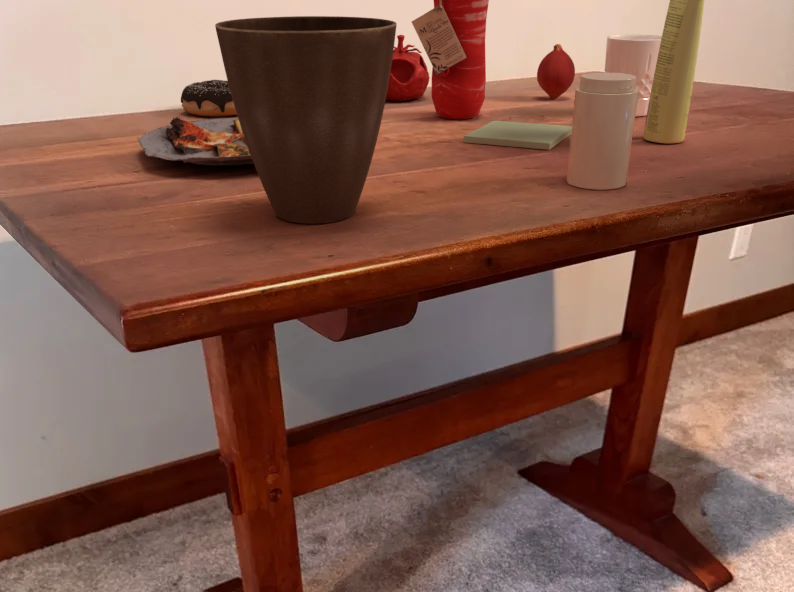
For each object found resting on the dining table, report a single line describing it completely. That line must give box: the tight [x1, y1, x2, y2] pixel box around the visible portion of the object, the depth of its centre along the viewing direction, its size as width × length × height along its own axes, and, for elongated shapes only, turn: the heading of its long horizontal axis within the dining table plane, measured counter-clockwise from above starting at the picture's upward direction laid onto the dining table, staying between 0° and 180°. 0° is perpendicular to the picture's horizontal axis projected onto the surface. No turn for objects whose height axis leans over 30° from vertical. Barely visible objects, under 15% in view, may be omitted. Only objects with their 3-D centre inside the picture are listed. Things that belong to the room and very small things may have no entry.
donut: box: [180, 79, 237, 118], centre depth 119 cm, size 11×12×4 cm
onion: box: [536, 43, 576, 100], centre depth 124 cm, size 6×6×8 cm
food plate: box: [136, 116, 254, 166], centre depth 95 cm, size 25×23×4 cm
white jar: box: [565, 71, 639, 191], centre depth 80 cm, size 6×6×10 cm
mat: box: [463, 120, 572, 151], centre depth 101 cm, size 11×11×1 cm
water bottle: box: [411, 0, 490, 120], centre depth 107 cm, size 12×8×25 cm, turn 135°
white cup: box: [604, 33, 662, 118], centre depth 113 cm, size 8×8×10 cm
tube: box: [642, 0, 705, 144], centre depth 94 cm, size 6×5×20 cm
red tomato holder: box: [386, 34, 430, 102], centre depth 126 cm, size 10×10×9 cm
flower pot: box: [214, 15, 398, 225], centre depth 70 cm, size 15×15×16 cm
